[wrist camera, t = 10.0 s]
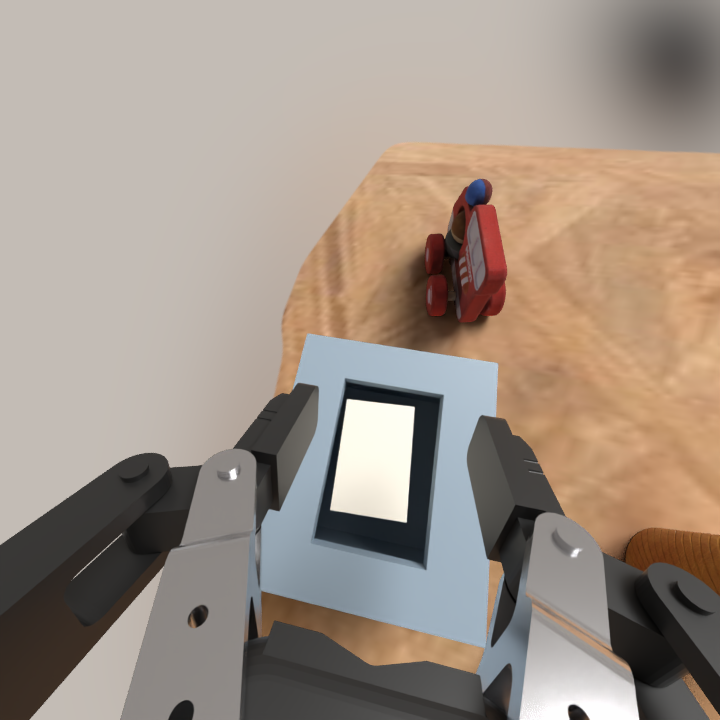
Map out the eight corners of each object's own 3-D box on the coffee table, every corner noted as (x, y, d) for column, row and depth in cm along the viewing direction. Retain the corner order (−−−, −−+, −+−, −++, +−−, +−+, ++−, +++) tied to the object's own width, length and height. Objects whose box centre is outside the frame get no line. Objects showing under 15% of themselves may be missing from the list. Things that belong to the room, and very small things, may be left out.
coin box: (331, 377, 29) (307, 333, 19) (452, 397, 28) (498, 363, 18) (297, 531, 25) (241, 585, 15) (437, 563, 24) (485, 648, 13)
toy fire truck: (482, 237, 34) (526, 147, 24) (494, 335, 30) (553, 276, 20) (421, 238, 34) (441, 149, 24) (426, 335, 30) (451, 276, 20)
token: (398, 502, 24) (406, 522, 15) (351, 494, 25) (330, 509, 15) (404, 429, 26) (414, 406, 17) (360, 423, 27) (347, 399, 17)
